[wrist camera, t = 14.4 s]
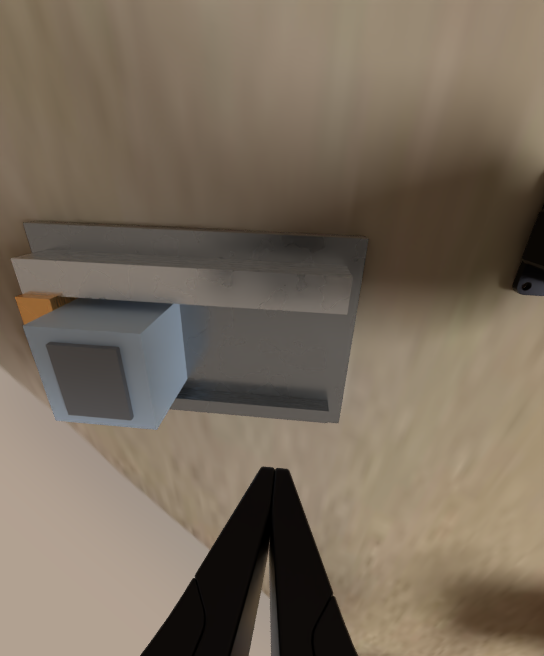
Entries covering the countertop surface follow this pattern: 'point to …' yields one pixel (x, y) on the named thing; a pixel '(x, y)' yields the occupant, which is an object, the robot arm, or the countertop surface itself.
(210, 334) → the rail plate
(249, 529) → the robot arm
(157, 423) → the block
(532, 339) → the countertop surface
